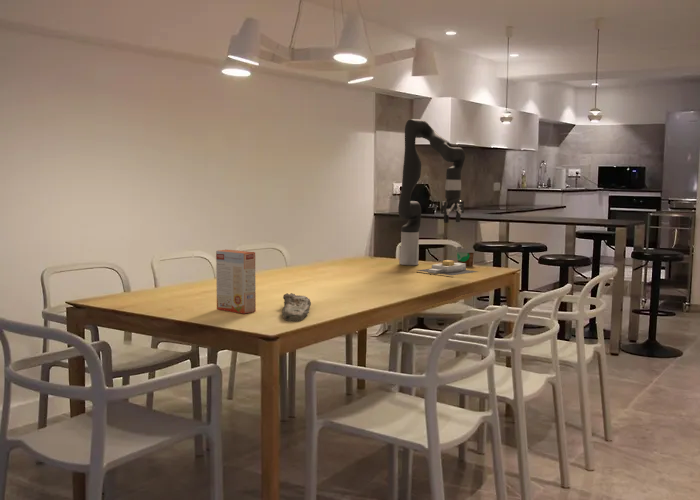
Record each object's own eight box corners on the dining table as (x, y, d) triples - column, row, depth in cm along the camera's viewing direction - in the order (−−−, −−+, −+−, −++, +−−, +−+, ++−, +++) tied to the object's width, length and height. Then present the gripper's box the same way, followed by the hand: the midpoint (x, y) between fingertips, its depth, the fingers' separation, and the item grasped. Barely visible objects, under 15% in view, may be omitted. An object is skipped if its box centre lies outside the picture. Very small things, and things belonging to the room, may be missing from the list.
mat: (416, 272, 351) (416, 270, 351) (443, 268, 365) (443, 267, 365) (451, 277, 335) (451, 275, 335) (478, 273, 349) (478, 271, 349)
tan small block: (442, 271, 350) (442, 260, 349) (447, 270, 352) (447, 260, 352) (448, 271, 347) (449, 261, 346) (454, 271, 350) (454, 260, 349)
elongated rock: (277, 326, 234) (307, 328, 234) (277, 310, 233) (308, 312, 233) (284, 301, 268) (311, 302, 269) (285, 287, 267) (312, 289, 268)
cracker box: (256, 312, 249) (256, 251, 247) (243, 314, 244) (243, 253, 242) (229, 307, 258) (228, 248, 255) (216, 309, 253) (215, 250, 251)
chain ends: (424, 271, 346) (424, 265, 346) (454, 268, 361) (454, 262, 360) (439, 274, 339) (439, 267, 339) (469, 270, 354) (469, 263, 354)
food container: (450, 265, 378) (451, 246, 377) (460, 265, 380) (461, 246, 379) (463, 268, 367) (464, 249, 366) (474, 268, 369) (474, 248, 368)
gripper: (456, 188, 358) (455, 221, 360) (437, 188, 349) (436, 222, 351) (468, 189, 352) (467, 222, 354) (449, 189, 343) (448, 223, 345)
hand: (452, 222), depth 353 cm, fingers open, 8 cm apart
